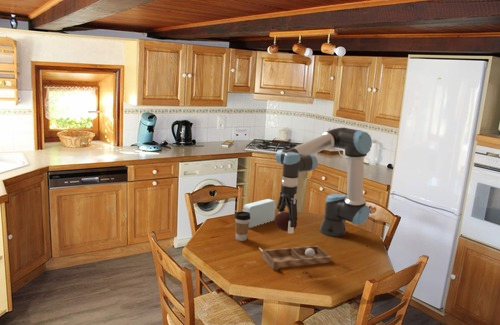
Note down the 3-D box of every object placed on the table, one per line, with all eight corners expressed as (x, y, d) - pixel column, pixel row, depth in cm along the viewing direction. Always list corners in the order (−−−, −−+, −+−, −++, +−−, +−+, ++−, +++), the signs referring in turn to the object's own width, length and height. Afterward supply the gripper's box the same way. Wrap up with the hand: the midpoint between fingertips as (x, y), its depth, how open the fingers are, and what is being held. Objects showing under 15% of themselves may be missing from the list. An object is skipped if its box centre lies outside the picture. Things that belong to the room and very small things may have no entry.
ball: (311, 255, 228) (312, 246, 226) (316, 259, 223) (317, 250, 222) (302, 256, 226) (303, 246, 225) (307, 260, 221) (308, 250, 220)
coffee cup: (246, 242, 240) (248, 216, 237) (231, 240, 241) (233, 214, 238) (250, 237, 248) (252, 211, 245) (235, 235, 250) (237, 209, 246)
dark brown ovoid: (290, 236, 209) (292, 217, 207) (269, 229, 216) (271, 211, 214) (300, 231, 216) (301, 213, 214) (279, 225, 223) (281, 207, 221)
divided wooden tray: (316, 252, 234) (317, 245, 233) (330, 264, 221) (330, 256, 220) (262, 257, 223) (262, 250, 222) (273, 270, 210) (273, 262, 209)
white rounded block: (267, 218, 282) (268, 198, 279) (274, 220, 278) (275, 200, 275) (241, 225, 265) (242, 204, 262) (248, 228, 261) (249, 207, 258)
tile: (269, 247, 236) (269, 246, 236) (276, 255, 227) (276, 253, 227) (258, 248, 234) (258, 246, 234) (265, 256, 225) (266, 254, 224)
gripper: (272, 178, 220) (269, 220, 225) (293, 192, 199) (288, 238, 204) (286, 178, 223) (282, 219, 227) (307, 191, 201) (303, 237, 206)
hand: (285, 228), depth 216 cm, fingers closed on dark brown ovoid, 11 cm apart
